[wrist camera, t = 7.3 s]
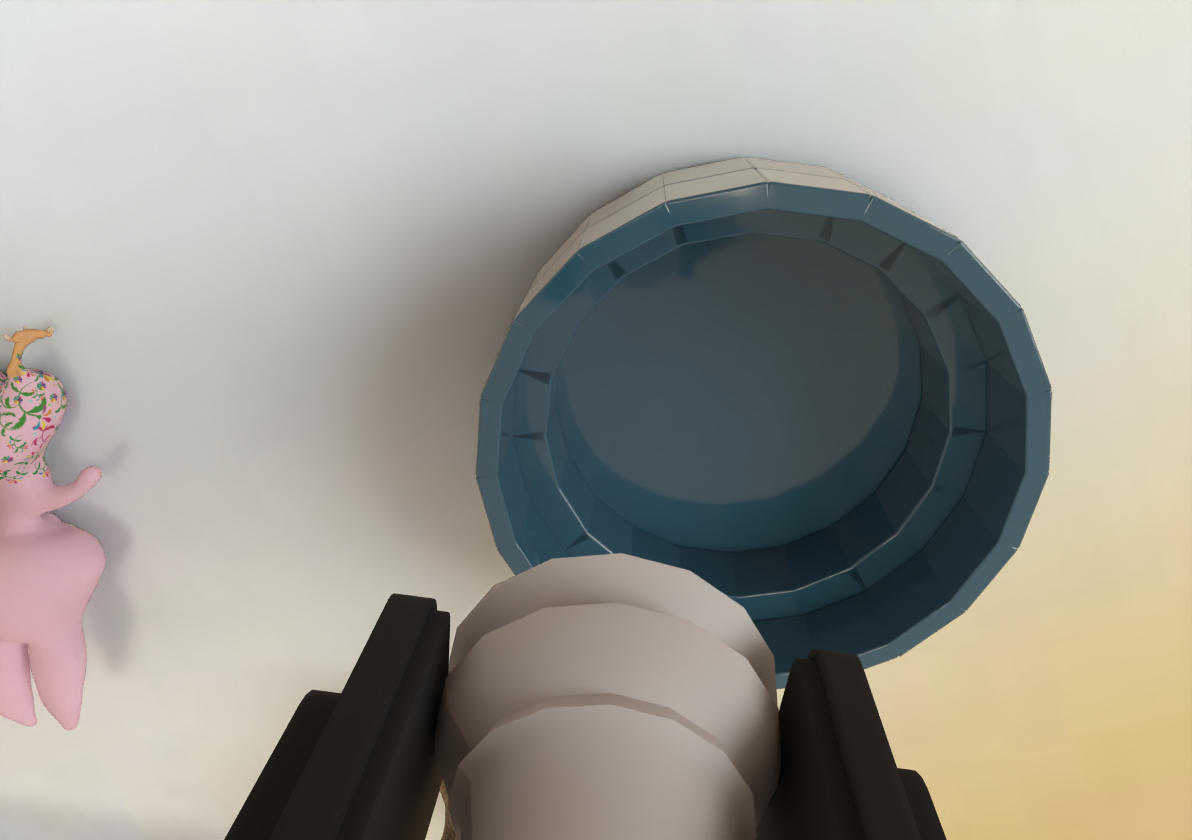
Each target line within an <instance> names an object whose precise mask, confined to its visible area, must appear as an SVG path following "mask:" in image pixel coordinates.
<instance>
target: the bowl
mask: <svg viewBox="0 0 1192 840" xmlns="http://www.w3.org/2000/svg"><path fill="white" fill-rule="evenodd" d="M1051 400H1052V391H1051V384H1050V382H1049V379H1048V376H1047V373H1046V371H1045V368H1044V365H1043V362H1042V360H1041V357H1040V354H1039V351H1038V349H1037V346H1036V343H1035V340H1034V338H1033V335H1032V332H1031V329H1030V327H1029V324H1028V321H1027V318H1026V316H1025V313H1024V310H1023V309H1022V308H1021V306H1020V304H1019V303H1018V302H1017V301H1016V300H1015V299H1014V298H1013V297H1012V295H1011V294H1010V293H1009V292H1008V291H1007V290H1006V289H1005V288H1004V287H1003V285H1002V284H1001V283H1000V282H999V281H998V280H997V279H996V278H995V277H994V276H993V274H992V273H991V272H990V271H989V270H988V269H987V268H986V267H985V266H984V265H983V263H982V262H981V261H980V260H979V259H978V258H977V257H976V256H975V255H974V253H973V252H972V251H971V250H970V249H969V248H968V247H967V246H966V245H965V244H964V242H963V241H961V240H960V239H958V238H957V237H956V236H954V235H952V234H951V233H949V232H947V231H945V230H944V229H942V228H940V227H938V226H937V225H935V224H933V223H931V222H930V221H928V220H926V219H924V218H922V217H921V216H919V215H917V214H916V213H914V212H912V211H910V210H909V209H907V208H905V207H903V206H902V205H900V204H898V203H896V202H894V201H892V200H890V199H888V198H887V197H885V196H883V195H881V194H879V193H877V192H875V191H873V190H871V189H869V188H867V187H865V186H863V185H861V184H859V183H857V182H855V181H853V180H851V179H849V178H847V177H845V176H843V175H841V174H839V173H837V172H835V171H833V170H831V169H827V168H826V167H821V166H813V165H806V164H798V163H790V162H782V161H774V160H766V159H759V158H751V157H744V158H743V157H740V158H735V159H730V160H725V161H720V162H715V163H710V164H705V165H700V166H695V167H690V168H685V169H680V170H675V171H670V172H665V173H663V175H662V174H660V175H658V176H656V177H654V178H653V179H651V180H649V181H647V182H646V183H644V184H642V185H640V186H638V187H637V188H635V189H633V190H631V191H630V192H628V193H626V194H624V195H623V196H621V197H619V198H617V199H616V200H614V201H612V202H610V203H608V204H607V205H605V206H603V207H601V208H600V209H598V210H596V211H594V212H593V213H592V214H590V215H589V216H588V217H587V218H586V219H585V221H584V222H583V223H582V224H581V225H580V226H579V227H578V228H577V229H576V230H575V232H574V233H573V234H572V235H571V236H570V237H569V238H568V239H567V240H566V242H565V243H564V244H563V245H562V246H561V247H560V248H559V249H558V250H557V251H556V253H555V254H554V255H553V256H552V257H551V258H550V259H549V260H548V261H547V262H546V264H545V265H544V266H543V267H542V268H541V269H540V271H539V272H538V274H537V276H536V278H535V280H534V282H533V284H532V285H531V287H530V289H529V291H528V293H527V295H526V297H525V299H524V301H523V303H522V305H521V306H520V308H519V310H518V312H517V314H516V316H515V318H514V320H513V322H512V324H511V327H510V329H509V331H508V333H507V336H506V338H505V340H504V343H503V345H502V347H501V350H500V352H499V354H498V357H497V359H496V361H495V364H494V366H493V368H492V371H491V373H490V375H489V378H488V380H487V382H486V385H485V387H484V389H483V392H482V394H481V399H480V407H479V424H478V441H477V458H476V476H477V477H476V480H477V483H478V487H479V490H480V493H481V497H482V500H483V503H484V507H485V510H486V514H487V517H488V520H489V524H490V527H491V530H492V534H493V537H494V541H495V544H496V547H497V548H498V551H499V553H500V554H501V556H502V557H503V558H504V560H505V561H506V563H507V564H508V565H509V567H510V568H511V570H512V571H513V573H514V574H515V575H518V574H520V573H522V572H524V571H527V570H529V569H531V568H533V567H535V566H537V565H540V564H542V563H544V562H546V561H548V560H550V559H555V558H568V557H580V556H593V555H605V554H618V553H623V554H627V555H631V556H635V557H639V558H642V559H646V560H650V561H654V562H658V563H662V564H666V565H670V566H674V567H678V568H681V569H685V570H689V571H691V572H693V573H694V574H696V575H697V576H699V577H700V578H701V579H703V580H704V581H706V582H707V583H709V584H710V585H712V586H713V587H715V588H716V589H717V590H719V591H720V592H722V593H723V594H725V595H726V596H728V597H729V598H731V599H732V600H733V601H735V602H736V603H738V604H739V605H741V606H742V607H744V609H745V610H746V612H747V613H748V615H749V617H750V618H751V620H752V621H753V623H754V625H755V626H756V628H757V630H758V631H759V633H760V634H761V636H762V638H763V639H764V641H765V642H766V644H767V646H768V647H769V649H770V651H771V652H772V654H773V655H774V660H775V676H776V689H783V688H785V687H786V684H787V680H788V676H789V673H790V669H791V665H792V663H793V661H794V659H795V658H801V659H807V656H808V653H809V652H810V650H811V649H821V650H828V651H836V652H843V653H851V654H856V655H857V656H858V657H859V659H860V661H861V663H862V666H863V669H867V668H869V667H872V666H875V665H878V664H881V663H883V662H886V661H889V660H892V659H894V658H897V657H898V656H902V655H903V654H905V653H906V652H907V651H909V650H910V649H912V648H913V647H915V646H916V645H918V644H919V643H921V642H922V641H924V640H925V639H927V638H928V637H929V636H931V635H932V634H934V633H935V632H937V631H938V630H940V629H941V628H943V627H944V626H946V625H947V624H948V623H950V622H951V621H953V620H954V619H956V618H957V617H959V616H960V615H962V614H963V613H965V610H968V608H969V607H970V606H971V605H972V604H973V602H974V601H975V600H976V599H977V598H978V596H979V595H980V594H981V593H982V592H983V591H984V589H985V588H986V587H987V586H988V585H989V583H990V582H991V581H992V580H993V579H994V577H995V576H996V575H997V574H998V573H999V571H1000V570H1001V569H1002V568H1003V567H1004V565H1005V564H1006V563H1007V562H1008V561H1009V559H1010V558H1011V557H1012V556H1013V555H1014V553H1015V552H1016V551H1017V549H1018V548H1019V547H1020V544H1021V542H1022V539H1023V537H1024V534H1025V532H1026V529H1027V527H1028V524H1029V522H1030V520H1031V517H1032V515H1033V512H1034V510H1035V507H1036V505H1037V502H1038V500H1039V497H1040V495H1041V492H1042V490H1043V487H1044V485H1045V483H1046V480H1047V478H1048V475H1049V460H1050V430H1051Z"/></svg>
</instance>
